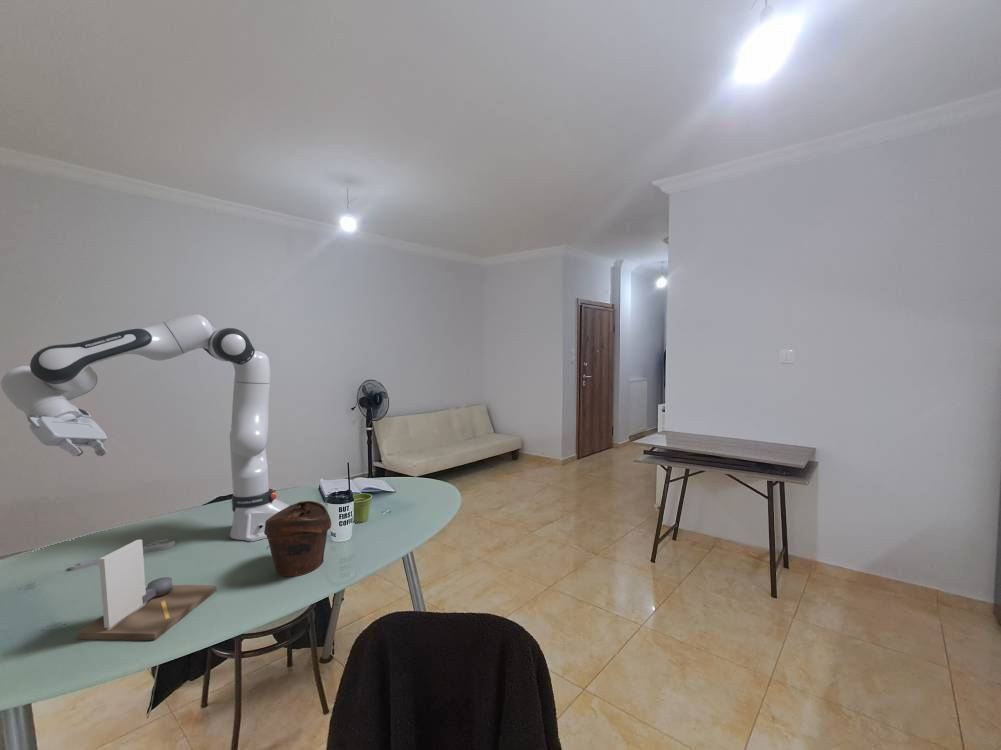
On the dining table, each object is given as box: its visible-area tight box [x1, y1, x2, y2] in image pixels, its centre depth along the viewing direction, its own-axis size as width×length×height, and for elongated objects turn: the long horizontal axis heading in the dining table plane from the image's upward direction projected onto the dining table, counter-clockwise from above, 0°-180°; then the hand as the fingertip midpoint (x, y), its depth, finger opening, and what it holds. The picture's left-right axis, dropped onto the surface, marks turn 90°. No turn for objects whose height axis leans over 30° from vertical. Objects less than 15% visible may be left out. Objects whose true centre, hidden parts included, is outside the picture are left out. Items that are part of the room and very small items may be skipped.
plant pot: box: [352, 492, 373, 524], centre depth 166 cm, size 9×9×9 cm
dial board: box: [76, 584, 217, 641], centre depth 109 cm, size 20×18×2 cm
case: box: [264, 500, 332, 577], centre depth 132 cm, size 18×20×18 cm
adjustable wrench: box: [69, 538, 176, 571], centre depth 141 cm, size 25×6×2 cm, turn 128°
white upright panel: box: [98, 539, 173, 628], centre depth 109 cm, size 18×5×16 cm, turn 177°
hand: (91, 454), depth 121 cm, fingers open, 8 cm apart
